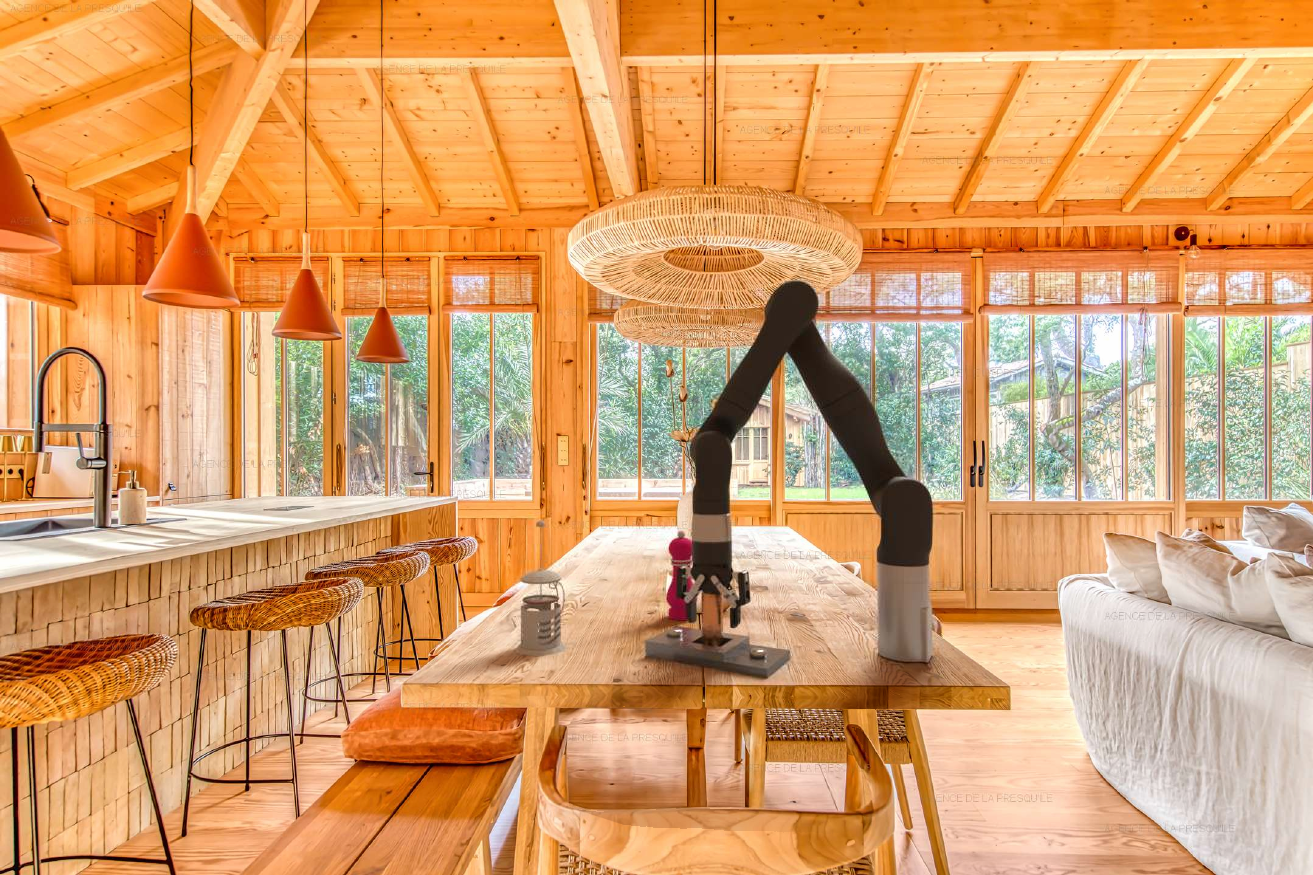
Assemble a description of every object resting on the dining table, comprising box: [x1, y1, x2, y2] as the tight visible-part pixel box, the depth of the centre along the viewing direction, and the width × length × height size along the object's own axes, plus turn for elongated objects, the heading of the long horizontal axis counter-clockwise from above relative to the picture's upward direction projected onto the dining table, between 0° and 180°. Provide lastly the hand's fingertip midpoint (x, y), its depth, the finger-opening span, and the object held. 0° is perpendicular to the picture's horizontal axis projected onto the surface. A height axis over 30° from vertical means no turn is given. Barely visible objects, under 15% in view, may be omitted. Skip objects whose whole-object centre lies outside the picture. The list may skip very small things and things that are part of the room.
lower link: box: [673, 644, 791, 679], centre depth 121 cm, size 18×12×2 cm, turn 60°
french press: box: [515, 520, 567, 657], centre depth 131 cm, size 10×12×25 cm
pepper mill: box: [665, 530, 698, 621], centre depth 154 cm, size 7×7×20 cm
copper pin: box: [700, 591, 724, 647], centre depth 124 cm, size 4×4×12 cm
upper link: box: [644, 625, 751, 663], centre depth 125 cm, size 16×12×4 cm
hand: (712, 624), depth 123 cm, fingers open, 8 cm apart
